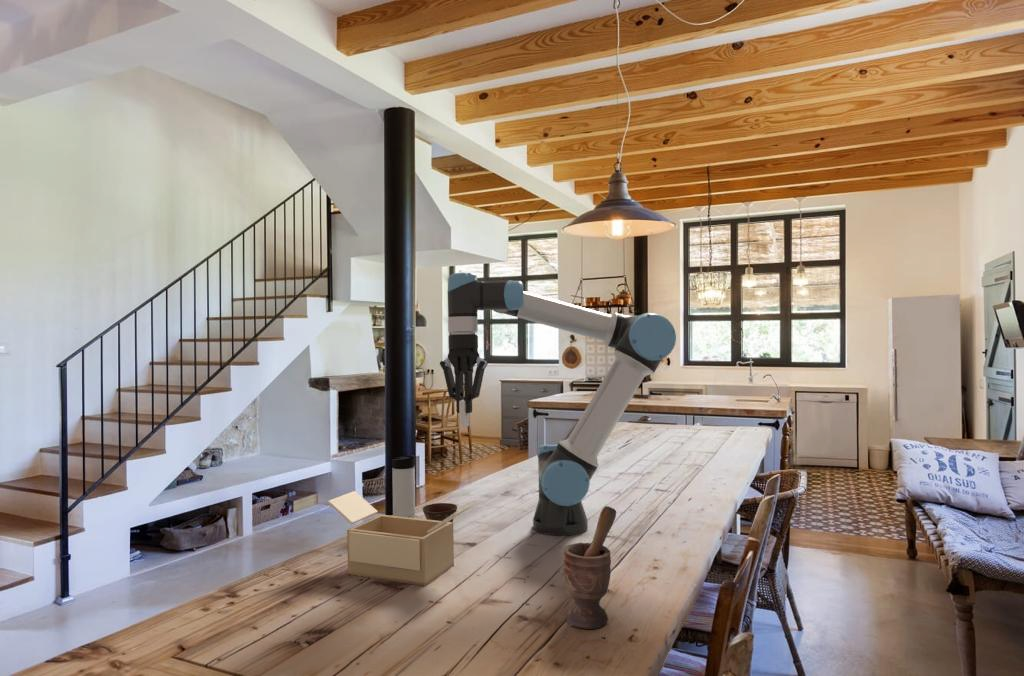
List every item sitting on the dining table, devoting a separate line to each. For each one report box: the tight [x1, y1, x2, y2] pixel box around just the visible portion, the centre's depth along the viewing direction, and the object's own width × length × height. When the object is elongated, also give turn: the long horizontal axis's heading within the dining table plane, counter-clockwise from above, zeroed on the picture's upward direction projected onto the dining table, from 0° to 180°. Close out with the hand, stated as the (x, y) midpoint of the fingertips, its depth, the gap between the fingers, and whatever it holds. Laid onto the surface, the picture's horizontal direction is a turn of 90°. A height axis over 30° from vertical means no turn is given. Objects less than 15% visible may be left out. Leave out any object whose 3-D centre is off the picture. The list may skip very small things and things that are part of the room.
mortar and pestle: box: [563, 505, 617, 630], centre depth 117 cm, size 12×9×20 cm
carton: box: [346, 514, 455, 587], centre depth 143 cm, size 20×14×10 cm
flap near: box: [427, 501, 477, 533], centre depth 138 cm, size 10×1×8 cm
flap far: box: [327, 490, 379, 525], centre depth 148 cm, size 10×1×8 cm
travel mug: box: [391, 454, 416, 518], centre depth 177 cm, size 6×7×20 cm
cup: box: [422, 502, 458, 523], centre depth 162 cm, size 9×9×10 cm
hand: (464, 425), depth 160 cm, fingers closed
